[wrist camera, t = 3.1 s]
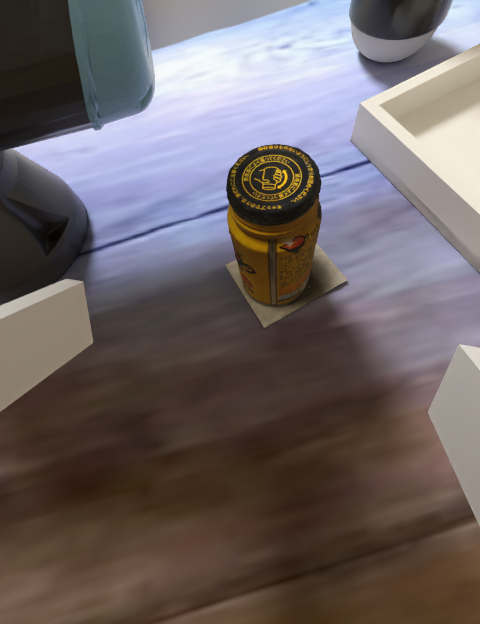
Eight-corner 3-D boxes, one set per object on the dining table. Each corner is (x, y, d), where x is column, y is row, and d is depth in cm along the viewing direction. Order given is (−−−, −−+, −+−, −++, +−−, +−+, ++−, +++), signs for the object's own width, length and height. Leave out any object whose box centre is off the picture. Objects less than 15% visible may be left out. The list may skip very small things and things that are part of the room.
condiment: (225, 266, 28) (191, 164, 17) (301, 224, 29) (316, 99, 18) (264, 329, 26) (254, 257, 15) (346, 281, 26) (398, 178, 15)
